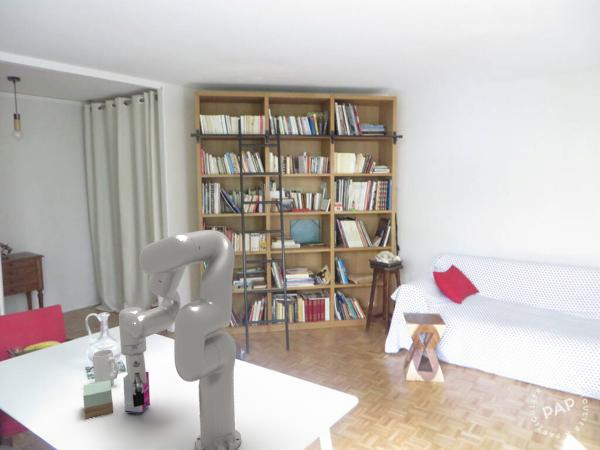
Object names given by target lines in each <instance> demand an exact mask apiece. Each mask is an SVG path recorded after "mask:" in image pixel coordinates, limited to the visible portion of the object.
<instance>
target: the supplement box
mask: <svg viewBox="0 0 600 450" xmlns="http://www.w3.org/2000/svg"><path fill="white" fill-rule="evenodd" d="M149 374H150V372H149V371H146V379H147V382H146V384H145V383H143V382H142V386H143V392H144V403H145V404H144V405H141V406H137V407H134V405H133V394H134V392H133V386H131V385H130V382H129V378H128V374H127V375H125V376H124V377H123V380H122V381H123V399H124V400H123V401H124V413H128V414H129V413H130V414H142V413H143V412H144V410H146V409H147V408H148V407H150V405H151V398H150V395H151V394H150V375H149ZM140 382H141V380H140ZM134 384H136V382H134ZM136 388H137V387H135V389H136Z"/></svg>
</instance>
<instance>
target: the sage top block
mask: <svg viewBox="0 0 600 450" xmlns="http://www.w3.org/2000/svg"><path fill="white" fill-rule="evenodd" d="M82 396H83V409H85V408H88V407H92V406H97V405H101V404H106V403H111V402H112V401H113V396H112V386H111V381H110V380H108V381H103V382H98V383H95V382H94V383H93V382H92V383H87V384H84V385H83V394H82Z"/></svg>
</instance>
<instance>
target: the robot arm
mask: <svg viewBox="0 0 600 450" xmlns="http://www.w3.org/2000/svg"><path fill="white" fill-rule="evenodd" d="M235 256H236V255H235V250H234V246H233V244H232V242H231V240H230V239H229V237H228V236H227V235H226V234H224V233H223V232H222V231H218V230H215V229H214V230H213V229H205V230H196V231H191V232H184V233H178V234H174V235H171V236H170V235H169V236H167V237H165V238H162V239H159V240H156V241H154V242H151V243H148V244H147V245H145V246H144V247H143V249H141V252H140V255H139V259H138V260H139V261H138V262H139V266H140V269H141V270H142V272H144V273H145V274H146V275H149V276H150V277H149V279H148V281H147V288H148V289H149V291H150V292H151V293H152V294H154V295H156V296H158V297H161V298H163V299H162V301H161V303H160V305H159V306H157V307H154V308H151V309H148V310H145V311H144V309H143V308H141V307H139V306H133V307H132V306H131V307H126V308H123V309H121V310H120V311H119V312H118V324H119V325H118V326H119V339H120V340H119V341H120V353H121V355H122V356H125V366H126V367H125V368H126V373H127V375H128V378H129V382H130V385H131V386H133V392H134V394H133V405H134V407H137V406H141V405H144V404H145V403H144V392H143V386H142V382H143V383H145V384H146V382H147V379H146V372H147V371H146V369H147V368H146V361H145V352H146V351H147V337H148V338H149V337H150V336H153V335H155V334H157V333H160V332H163V331H166V330H167V329H169V328H171V327H172V326H173V325H174V332H173V333H174V336H173V338H174V341H173V344H174V345H173V346H174V351H173V352H174V353H173V354H174V366H175V370H176V372H177V375H178V376H179V377H180V379H182V380H183V381H185V382H189V383H191V382H192V383H193V382H196V381H198V404H199V406H198V408H199V425H200V428H199V429H200V434H199V435H198V436H197V437H196V439H195V442H194V444H195V449H196V450H236V449H238V448H239V446H240V445H241V442H242V436H241V433H240V432H239V430H236V422H235V421H236V420H235V417H236V415H235V414H236V413H235V392H234V391H235V385H234V380H235V379H234V378H235V377H234V375H235V374H234V373H235V365H236V364H235V363H236V359H237V358H236V357H237V346H236V343H235V342H236V341H235V340H234V337H232V336H231V334H230V333H228V332H225V331H221V330H223V329H225V328H227V327H228V325H229V324H230V323H231V321H232V313H233V311H232V309H233V307H232V306H233V278H234V277H233V276H234V267H235V260H236V259H235ZM201 263H206V266H205V268H204V269H203V272H202V274H201V277H200V281H199V288H200V289H199V297H198V299H197V300H194V301H192V302H189V303H186V304H185V305H182V304H181V297H180V294H179V291H178V288H179V285H180V282H181V280H182V278H183V275H184V273H185V271H186V268H187V267H188V266H193V265H197V264H201ZM181 305H182V307H181ZM140 380H141V382H140ZM134 382H136V384H134ZM135 387H137V388H136V389H135Z"/></svg>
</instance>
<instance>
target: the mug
mask: <svg viewBox="0 0 600 450" xmlns="http://www.w3.org/2000/svg"><path fill="white" fill-rule="evenodd" d="M92 365H93V376H94V383H98V382H103V381H108V380H110V381H111V387H112V386H113V385H114V383H115V380H117V378H118V375H119V371H120V369H119V363H118V361H117V358H116V357H114V351H113V350H112V349H108V348H107V349H106V348H105V349H100V350H97V351H94V352H93V353H92ZM114 367H115V370H114ZM114 371H115V372H114Z"/></svg>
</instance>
